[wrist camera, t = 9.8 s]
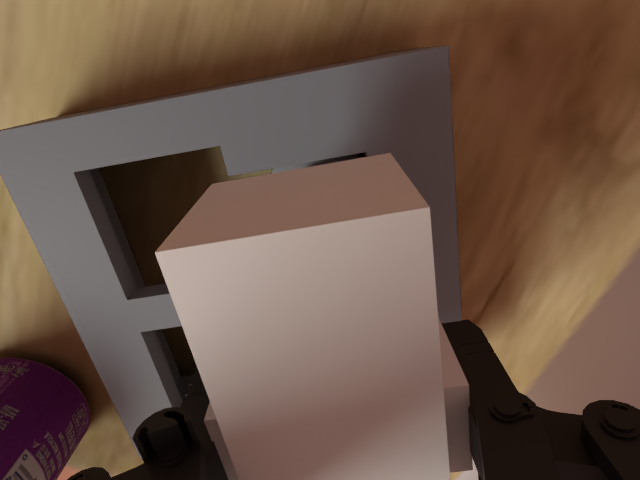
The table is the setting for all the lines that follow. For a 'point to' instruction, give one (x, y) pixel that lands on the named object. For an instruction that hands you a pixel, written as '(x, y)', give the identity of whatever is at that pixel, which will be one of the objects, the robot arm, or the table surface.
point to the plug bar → (316, 321)
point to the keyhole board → (239, 157)
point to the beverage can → (38, 420)
